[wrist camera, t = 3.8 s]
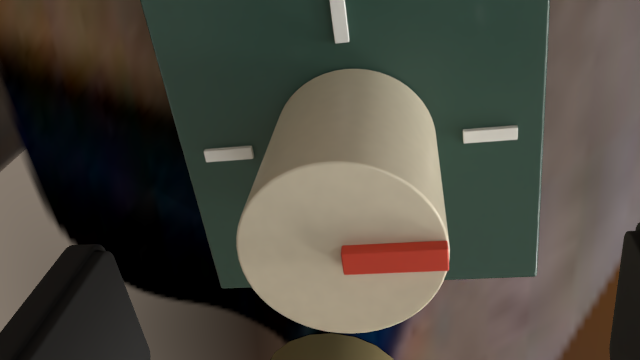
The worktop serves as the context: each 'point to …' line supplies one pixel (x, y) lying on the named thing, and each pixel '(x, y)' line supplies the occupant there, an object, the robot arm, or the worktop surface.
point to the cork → (329, 349)
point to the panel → (381, 56)
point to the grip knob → (347, 206)
